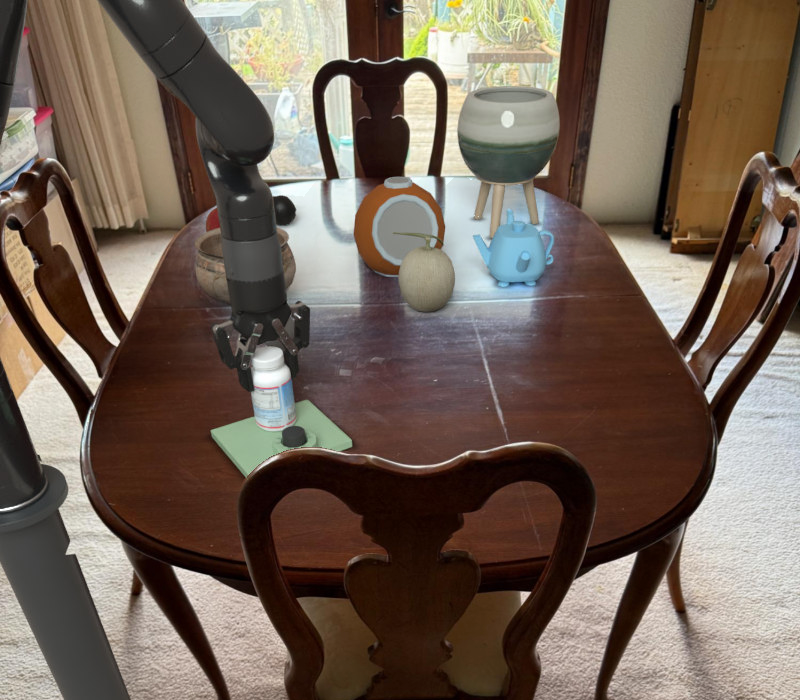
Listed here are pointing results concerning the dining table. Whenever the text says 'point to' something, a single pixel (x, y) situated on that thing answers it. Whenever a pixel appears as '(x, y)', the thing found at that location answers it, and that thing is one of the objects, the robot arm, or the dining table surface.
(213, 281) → the cooking pot
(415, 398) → the dining table surface
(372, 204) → the alarm clock
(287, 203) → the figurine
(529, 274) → the teapot
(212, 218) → the apple
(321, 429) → the scale
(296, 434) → the button
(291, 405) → the pill bottle
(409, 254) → the fruit
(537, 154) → the planter
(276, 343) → the light bulb
